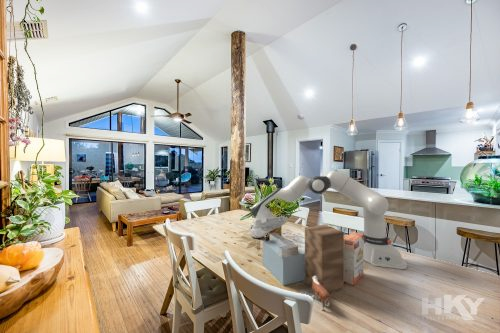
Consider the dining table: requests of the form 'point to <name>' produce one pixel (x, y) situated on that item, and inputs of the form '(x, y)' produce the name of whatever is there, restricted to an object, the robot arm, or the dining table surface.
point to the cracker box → (353, 257)
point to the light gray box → (284, 245)
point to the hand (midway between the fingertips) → (274, 218)
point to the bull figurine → (320, 292)
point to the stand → (324, 256)
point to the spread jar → (256, 236)
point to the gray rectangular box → (283, 264)
